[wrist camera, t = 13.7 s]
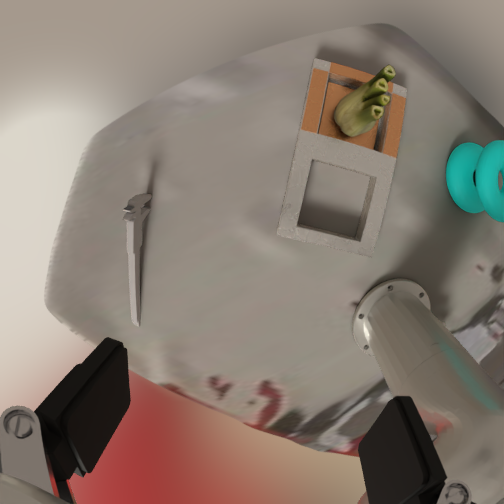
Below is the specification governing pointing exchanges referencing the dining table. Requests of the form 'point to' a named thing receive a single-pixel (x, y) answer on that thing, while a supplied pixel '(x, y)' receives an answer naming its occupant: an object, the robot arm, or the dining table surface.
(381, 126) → the orange and grey tray
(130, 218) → the caliper
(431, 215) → the dining table surface
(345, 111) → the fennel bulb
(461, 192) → the donuts
